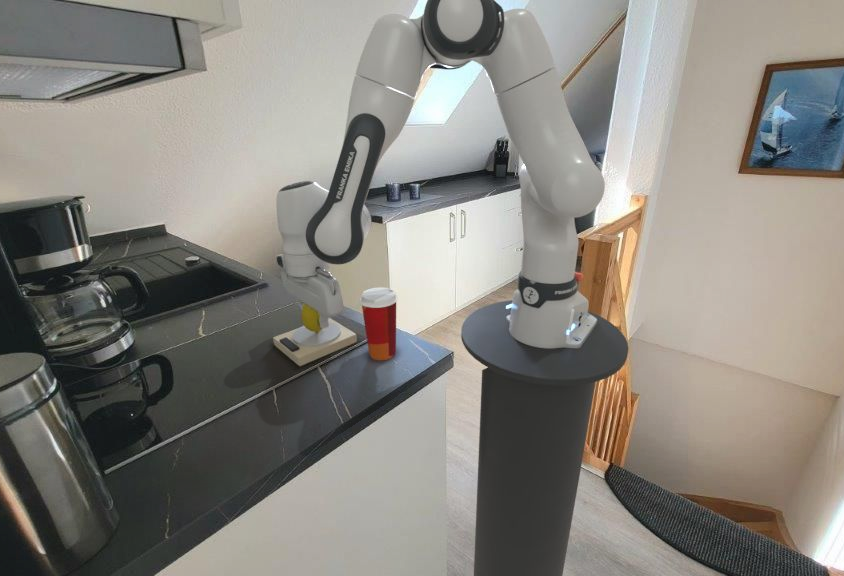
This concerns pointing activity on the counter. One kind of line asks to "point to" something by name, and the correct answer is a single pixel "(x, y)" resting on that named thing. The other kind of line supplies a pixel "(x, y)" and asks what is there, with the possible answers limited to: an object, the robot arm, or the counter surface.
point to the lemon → (310, 318)
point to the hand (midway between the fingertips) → (315, 321)
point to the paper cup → (380, 321)
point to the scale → (314, 342)
